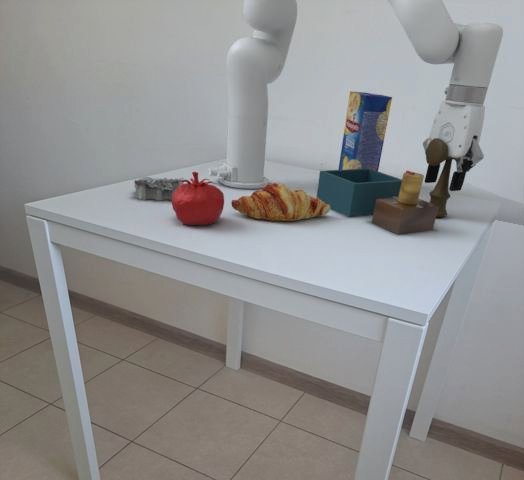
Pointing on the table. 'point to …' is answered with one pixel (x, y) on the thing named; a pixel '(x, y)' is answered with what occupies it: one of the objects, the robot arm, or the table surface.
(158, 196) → the grey flat jagged block
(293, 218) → the croissant
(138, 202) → the table surface
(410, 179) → the tap knob
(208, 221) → the red tomato
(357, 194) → the teal open box
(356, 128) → the beverage box
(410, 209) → the block
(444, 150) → the kendama
